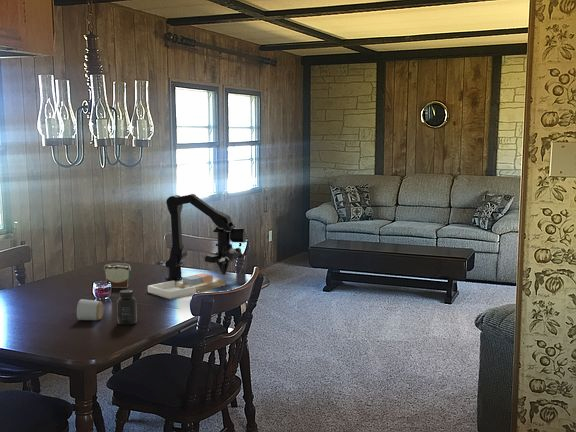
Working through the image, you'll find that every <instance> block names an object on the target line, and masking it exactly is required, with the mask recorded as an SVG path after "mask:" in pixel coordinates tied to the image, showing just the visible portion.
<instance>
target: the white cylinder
mask: <svg viewBox="0 0 576 432" xmlns="http://www.w3.org/2000/svg"><path fill="white" fill-rule="evenodd" d="M103 314H104V304H103V302H102V301H100V300H99V301H98V300H95V299H83V298H81V299H79V300H78V302H77V305H76V318H77V320H78V321H100V320H101V319H102V318H103Z"/></svg>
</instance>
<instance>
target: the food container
mask: <svg viewBox="0 0 576 432" xmlns="http://www.w3.org/2000/svg"><path fill="white" fill-rule="evenodd" d="M103 270H104V273H105V280H106V283H107V282H111V284H112V287H111V288H117V289H119V288H120V289H128V288H129V282H130V271H132V268H131V265H130V264H129V263H126V262H125V263H123V262H119V263H118V262H116V263H108V264H105V265H104V267H103Z"/></svg>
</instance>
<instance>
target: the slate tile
mask: <svg viewBox="0 0 576 432" xmlns="http://www.w3.org/2000/svg"><path fill="white" fill-rule="evenodd" d="M194 275H195V274H194ZM194 275H188V276H181V277H182V278H183V279H182V280H183V283H185V284H188V285H194V284H199V283H202V277H198V276H194Z"/></svg>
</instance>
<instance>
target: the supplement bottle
mask: <svg viewBox="0 0 576 432" xmlns="http://www.w3.org/2000/svg"><path fill="white" fill-rule="evenodd" d="M116 304H117V307H116V308H117V323H118V325H121V326H131V325H132V326H133V325H135V324H137V322H138V314H137V313H138V311H137V299H136V298H135V297H134V290H133V289H122V290H120V291H119V298H118V299H117V301H116Z"/></svg>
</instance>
